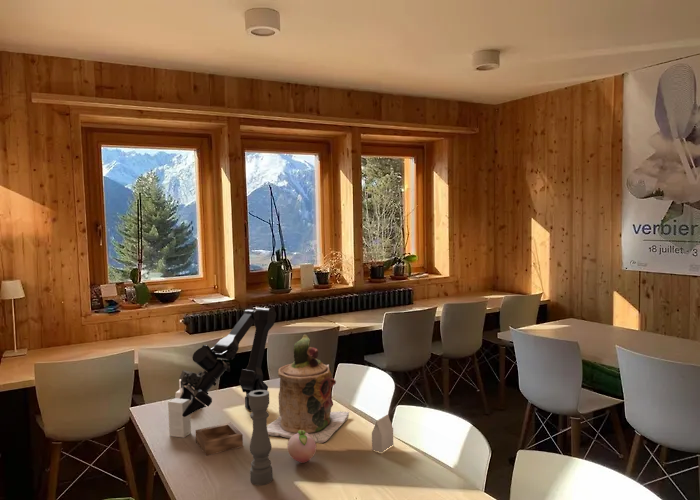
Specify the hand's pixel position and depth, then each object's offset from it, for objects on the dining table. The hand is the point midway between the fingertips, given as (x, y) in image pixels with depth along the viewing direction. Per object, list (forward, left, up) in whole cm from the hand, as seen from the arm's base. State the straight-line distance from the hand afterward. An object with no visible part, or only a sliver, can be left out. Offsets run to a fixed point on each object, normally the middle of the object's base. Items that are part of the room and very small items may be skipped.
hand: (179, 411), depth 185 cm
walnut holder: (-9, +15, -8) cm, 19 cm away
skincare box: (0, 0, -8) cm, 8 cm away
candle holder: (-12, +45, -8) cm, 47 cm away
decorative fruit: (-26, +42, -8) cm, 50 cm away
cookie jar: (-40, +17, -8) cm, 44 cm away
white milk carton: (-52, +47, -8) cm, 70 cm away
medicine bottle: (-9, -25, -8) cm, 28 cm away
